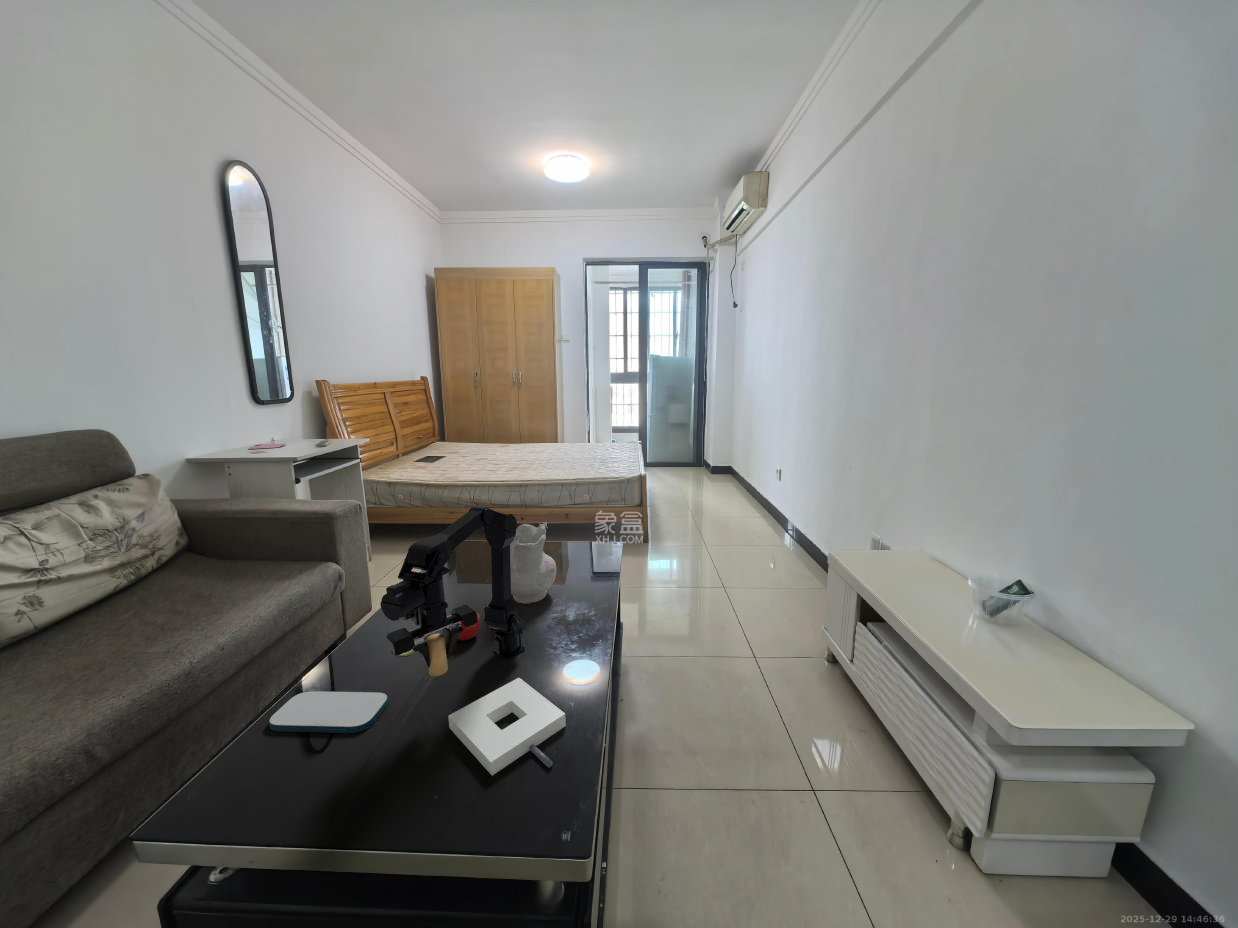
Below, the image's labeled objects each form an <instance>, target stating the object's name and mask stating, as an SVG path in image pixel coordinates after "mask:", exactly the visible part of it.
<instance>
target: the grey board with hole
mask: <svg viewBox="0 0 1238 928" xmlns="http://www.w3.org/2000/svg"><path fill="white" fill-rule="evenodd" d="M511 713H513V714H514V715H515V716H516V717H517V718H518V719H517V720H516V721H515V722H512V723H511V724H509V725H507V726H506V727H505V728H503V729H501V728H500V727H499V726H498V725H497V724H496V723H497V722H498V721H500V720H502V719H503V718H505V717H507V716H508V715H510V714H511ZM447 718H448V728H449V729H450V730H451V731H452V732H453V734H454V735H455V736H456V737H457V738H458V739H459V740H460V742H462V744H463V745H464V746H465V748H467V750H469V752H470V753H471V754H472V755H473V756H474V757H475V758H476V759H477V761H478V762H479V763H480V764H481V765H482V767H483V768H484V769H485V770H486V771H487V772H488V773H489V774H490V775H491V776H494V775H495V774H497V773H498V772H500V771H501V770H503V769H505V768H506V767H507V766H508V765H511V764H512V763H513V762H515V761H516V760H517V759H519V758H520V757H522V756H524V755H525V754H526V753H528V752H531V753H532V754H533V755H534V756H536V757H537V758H538V759H539V760H540V761H541V762H542V763H543V764H544V765H545V766H546V768H548V769H549V768H550V769H551V768H552V766H553V761H552V760H551V759H550V758H549V757H548V756H547V755H546V754H545V753H544V752H542V751H541V750H540V749H539V748H538V747H537V746H539V745H540V744H541V743H543V742H544V741H546V740H548V738H551V736H553V735H554V734H557V733H558V732H560V731H561V730H562V729H563V728H565V727H566V726H567V722H566V721H567V719H566V713H565V712H564V711H563V710H561V709H560V708H559V707H558V706H556V705H555V704H553V703H552V702H551V701H550V700H549V699H547V698H546V697H545V696H543V695H542V694H541V693H539V691H537V690H536V689H535V688H533V687H532V686H531V685H529V684H528V683H527V682H525V681H524V680H523V679H522V678H520V677H517V678H515V679H514V680H512V681H510V682H508V683H506V684H504V685H502V686H500V687H499V688H497V689H495V690H493V691H491V692H489V693H488V694H486V695H484V696H482V697H480V698H478V699H477V700H474V701H473V702H471V703H469V704H467V705H465V706H463V707H462V708H460V709H458V710H456V711H454V712H452V713H451V714H449V715H447Z"/></svg>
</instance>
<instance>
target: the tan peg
mask: <svg viewBox="0 0 1238 928" xmlns="http://www.w3.org/2000/svg"><path fill="white" fill-rule="evenodd" d="M424 641H425V642H426V643H427V644H428V648H429V656H430V667H429V668H428V675H430V677H439V676H441V675H444V674H446V672H447V671H448V670H449V668H448V659H447V655H446V646H445V636H444V635H443V633H432V634H430V635H428V636H427V637H425V639H424Z"/></svg>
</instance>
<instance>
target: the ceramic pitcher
mask: <svg viewBox="0 0 1238 928" xmlns="http://www.w3.org/2000/svg"><path fill="white" fill-rule="evenodd" d="M538 525H539V526H538V527H536V526H534V525H532V524H527V523H523V524H520V525H519V526H518V527H516V536H515V538H514V539H513V541H512V543H511V544H510V568H511V596H512V599H513V601H514V602H515V603H518V604H528V605H529V604H532V603H537V602H540V601H543V600H544V598H546V596H547V593H548V590H549V589H550V588H551V587H552V586H553V583H554V582H555V580H556V577H557V563H556V561H555V559H553V558H552V557H551V556H549V555H548V554H546V553H545V552H544V545H545V542H546V539H547V529H546V523H542V524H541V523H538Z"/></svg>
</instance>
